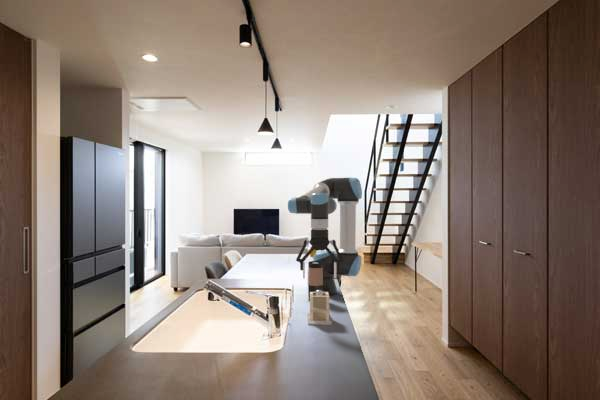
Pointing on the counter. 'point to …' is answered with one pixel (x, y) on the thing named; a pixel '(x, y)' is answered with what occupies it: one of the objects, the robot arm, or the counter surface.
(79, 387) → the counter surface
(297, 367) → the counter surface
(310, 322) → the post stand
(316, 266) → the travel mug
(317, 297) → the birch sleeve
